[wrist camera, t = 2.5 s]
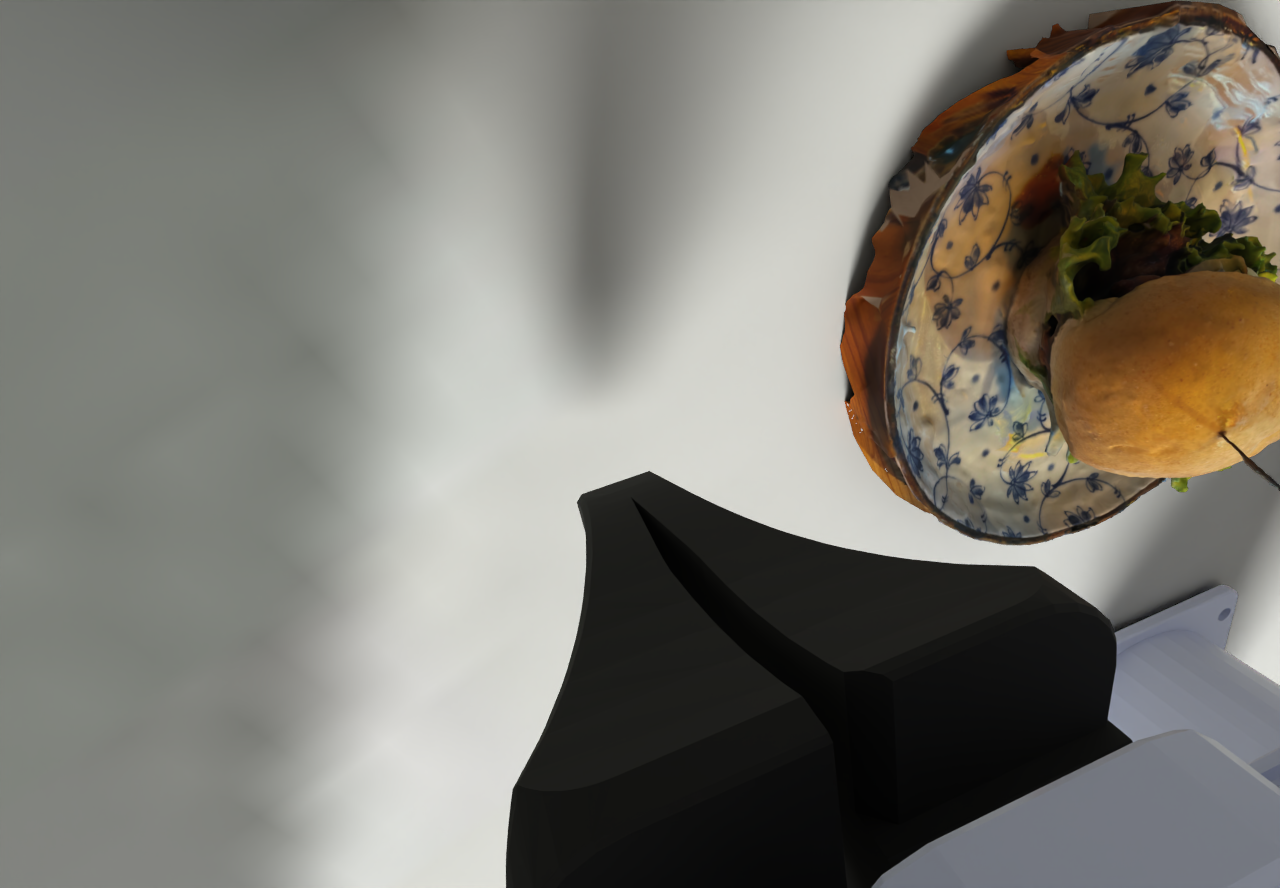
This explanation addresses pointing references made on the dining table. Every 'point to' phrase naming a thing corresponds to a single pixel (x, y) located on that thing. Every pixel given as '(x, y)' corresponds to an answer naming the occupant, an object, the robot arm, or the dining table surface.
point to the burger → (1079, 280)
